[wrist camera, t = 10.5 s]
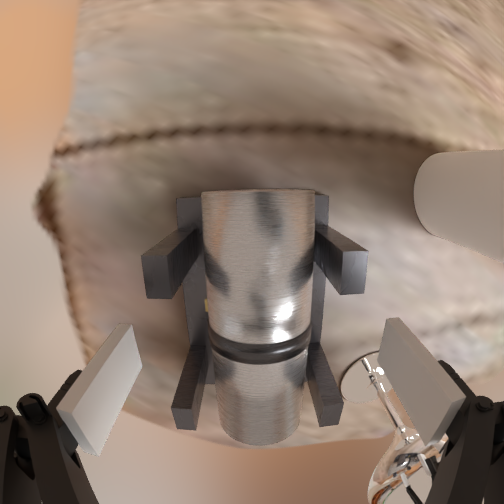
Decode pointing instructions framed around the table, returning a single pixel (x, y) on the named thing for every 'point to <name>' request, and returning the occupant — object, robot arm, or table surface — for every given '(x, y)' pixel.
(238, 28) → the table surface
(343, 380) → the wineglass
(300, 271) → the tube
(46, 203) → the table surface
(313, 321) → the rail
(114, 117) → the table surface
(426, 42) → the table surface
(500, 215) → the cylindrical container
